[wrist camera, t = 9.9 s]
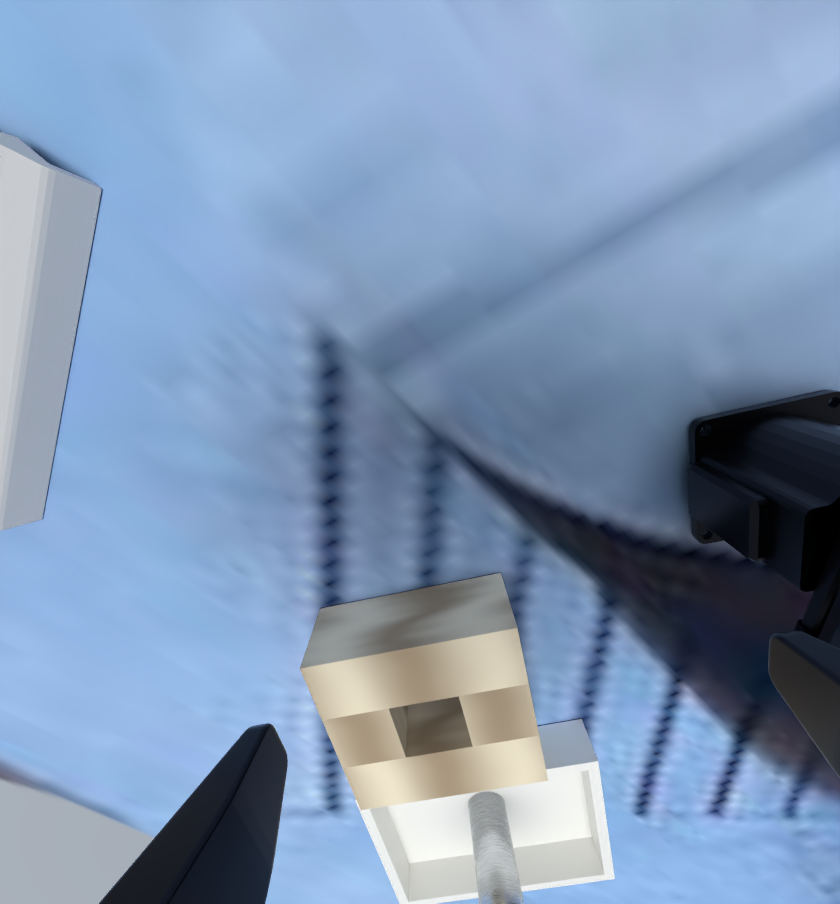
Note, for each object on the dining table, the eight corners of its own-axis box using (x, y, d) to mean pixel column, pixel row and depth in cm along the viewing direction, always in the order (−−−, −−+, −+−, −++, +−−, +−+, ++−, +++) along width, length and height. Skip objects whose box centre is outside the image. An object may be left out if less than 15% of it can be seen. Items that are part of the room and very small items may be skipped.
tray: (581, 719, 25) (597, 761, 23) (598, 831, 29) (614, 878, 26) (360, 755, 26) (355, 799, 24) (403, 860, 30) (401, 908, 28)
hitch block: (500, 572, 22) (517, 627, 18) (529, 709, 25) (548, 780, 21) (320, 608, 23) (299, 668, 19) (369, 736, 26) (360, 810, 22)
